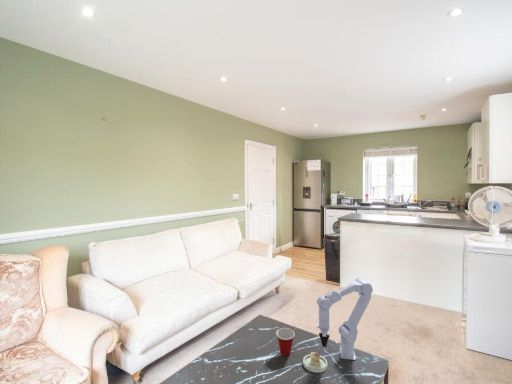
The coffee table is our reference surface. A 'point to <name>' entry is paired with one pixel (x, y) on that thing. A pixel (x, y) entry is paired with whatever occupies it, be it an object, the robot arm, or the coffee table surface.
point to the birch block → (315, 359)
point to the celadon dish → (315, 368)
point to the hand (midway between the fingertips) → (324, 342)
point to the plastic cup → (285, 340)
